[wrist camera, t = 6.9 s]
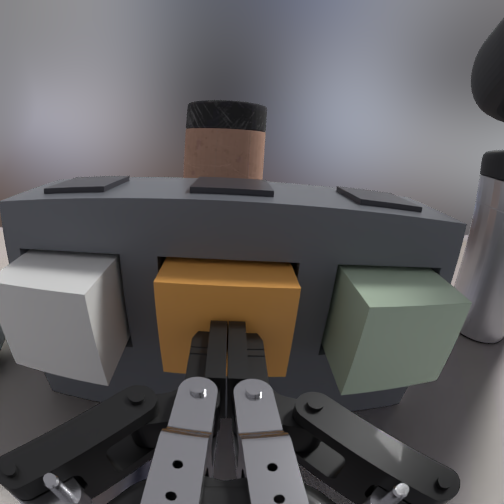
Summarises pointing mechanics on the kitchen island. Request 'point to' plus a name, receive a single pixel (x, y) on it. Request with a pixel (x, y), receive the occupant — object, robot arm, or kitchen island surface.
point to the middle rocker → (225, 305)
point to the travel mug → (225, 139)
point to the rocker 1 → (65, 313)
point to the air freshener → (1, 337)
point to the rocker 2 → (390, 326)
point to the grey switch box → (229, 255)
